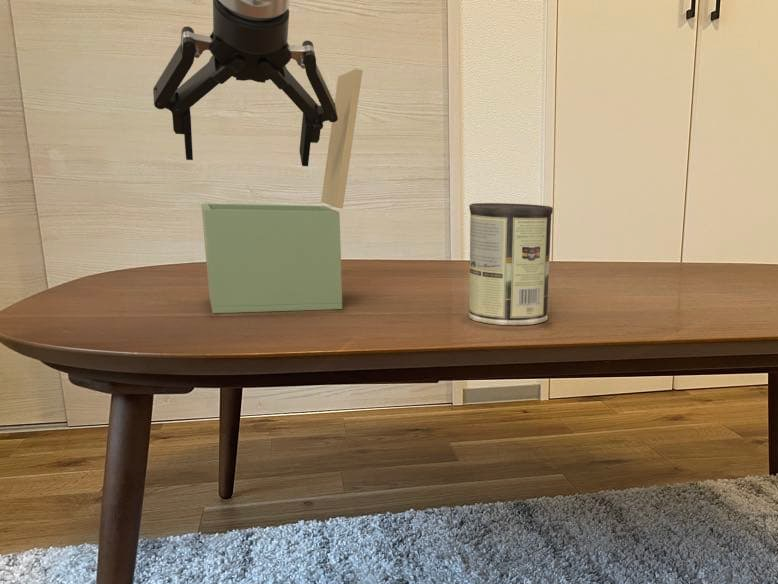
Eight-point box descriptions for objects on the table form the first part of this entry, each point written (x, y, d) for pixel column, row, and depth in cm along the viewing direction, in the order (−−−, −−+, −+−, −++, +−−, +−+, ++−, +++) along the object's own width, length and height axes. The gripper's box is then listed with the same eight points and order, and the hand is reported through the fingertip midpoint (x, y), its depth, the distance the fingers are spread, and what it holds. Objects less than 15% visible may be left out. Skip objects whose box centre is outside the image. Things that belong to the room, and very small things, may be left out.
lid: (355, 68, 93) (362, 70, 93) (338, 76, 103) (344, 77, 103) (335, 207, 97) (342, 208, 97) (320, 201, 107) (327, 202, 107)
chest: (212, 313, 94) (204, 209, 91) (209, 297, 104) (201, 203, 101) (342, 309, 101) (339, 211, 97) (327, 294, 111) (324, 205, 107)
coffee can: (496, 307, 107) (499, 201, 102) (561, 317, 102) (567, 207, 98) (451, 318, 98) (452, 203, 94) (520, 329, 93) (525, 209, 89)
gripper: (116, 6, 74) (137, 171, 91) (377, 38, 84) (352, 182, 101) (115, -42, 77) (135, 126, 94) (365, -5, 87) (343, 141, 104)
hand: (247, 155), depth 98 cm, fingers open, 13 cm apart
